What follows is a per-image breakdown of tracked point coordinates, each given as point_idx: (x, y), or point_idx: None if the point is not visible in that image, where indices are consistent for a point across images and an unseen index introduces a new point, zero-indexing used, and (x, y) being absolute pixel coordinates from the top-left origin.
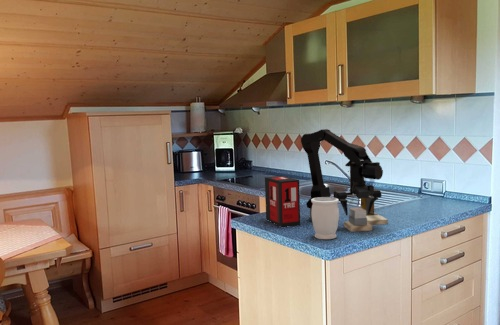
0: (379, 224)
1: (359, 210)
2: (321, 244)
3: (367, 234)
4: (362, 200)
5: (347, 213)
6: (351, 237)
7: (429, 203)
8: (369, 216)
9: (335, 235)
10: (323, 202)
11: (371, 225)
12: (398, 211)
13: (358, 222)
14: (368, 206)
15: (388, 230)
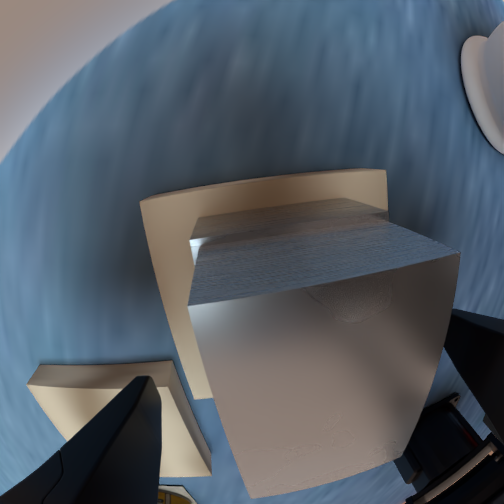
0: (84, 365)
1: (351, 339)
2: (490, 2)
3: (236, 55)
4: None
5: (462, 317)
6: (379, 17)
7: None
8: None
9: (471, 48)
10: None
11: (148, 200)
12: None
13: (314, 209)
14: (120, 477)
15: (31, 189)
